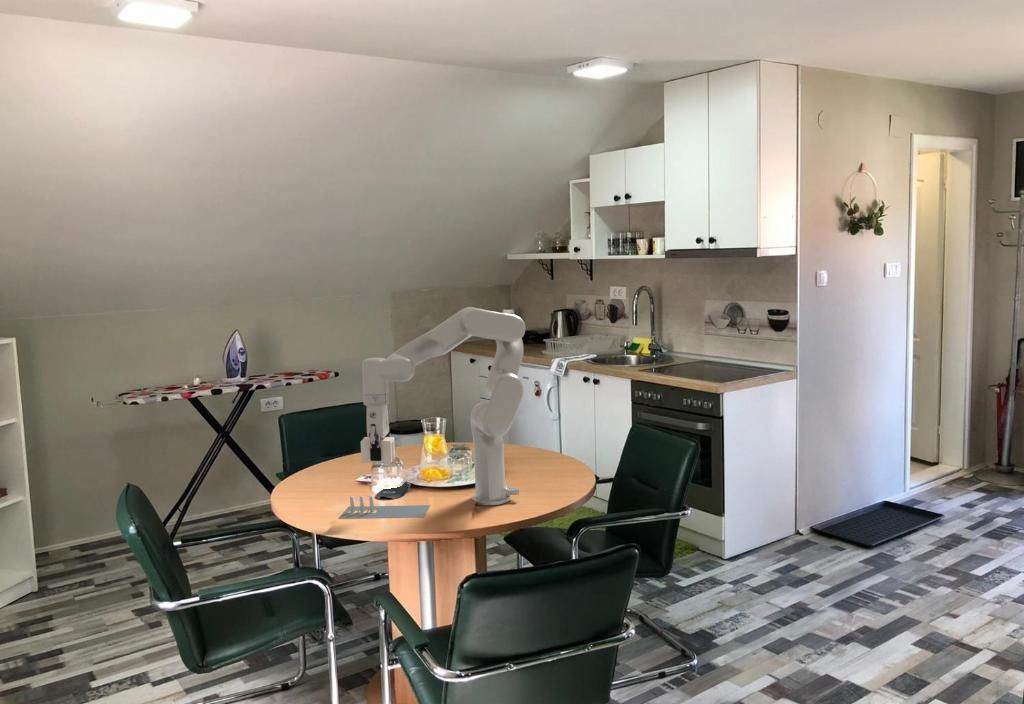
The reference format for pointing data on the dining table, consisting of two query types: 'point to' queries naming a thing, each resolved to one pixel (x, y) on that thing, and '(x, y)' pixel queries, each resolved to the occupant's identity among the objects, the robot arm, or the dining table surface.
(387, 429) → the robot arm
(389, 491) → the electronic device
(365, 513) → the header board
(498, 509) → the dining table surface
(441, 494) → the dining table surface
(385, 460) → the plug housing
